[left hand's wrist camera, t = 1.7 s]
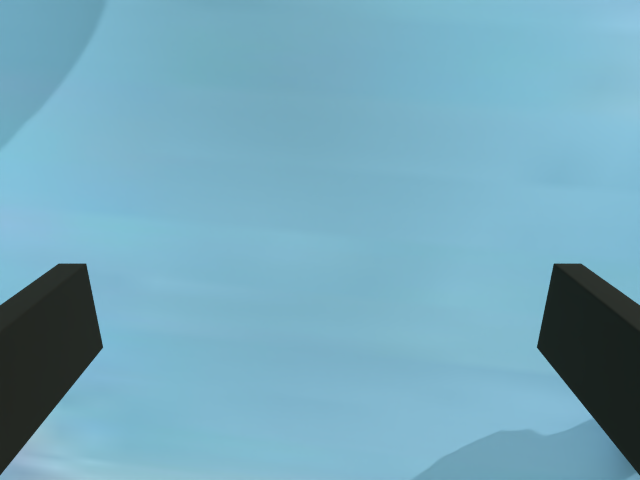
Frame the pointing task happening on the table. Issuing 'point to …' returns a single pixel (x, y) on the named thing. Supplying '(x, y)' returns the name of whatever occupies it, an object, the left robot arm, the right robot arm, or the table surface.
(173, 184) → the table surface
